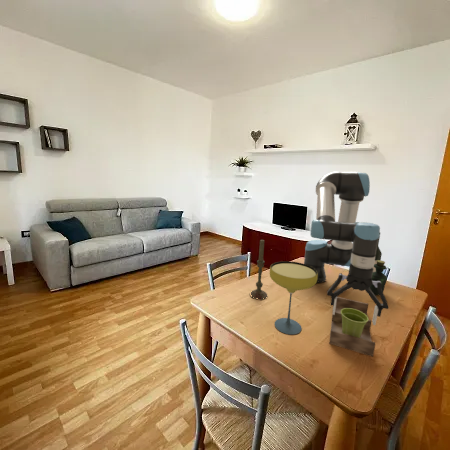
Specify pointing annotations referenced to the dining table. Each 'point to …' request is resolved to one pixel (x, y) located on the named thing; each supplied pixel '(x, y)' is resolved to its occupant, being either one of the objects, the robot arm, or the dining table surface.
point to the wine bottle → (377, 256)
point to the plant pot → (353, 321)
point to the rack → (348, 341)
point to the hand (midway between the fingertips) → (353, 317)
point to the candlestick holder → (258, 292)
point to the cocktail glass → (292, 288)
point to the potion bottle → (379, 276)
